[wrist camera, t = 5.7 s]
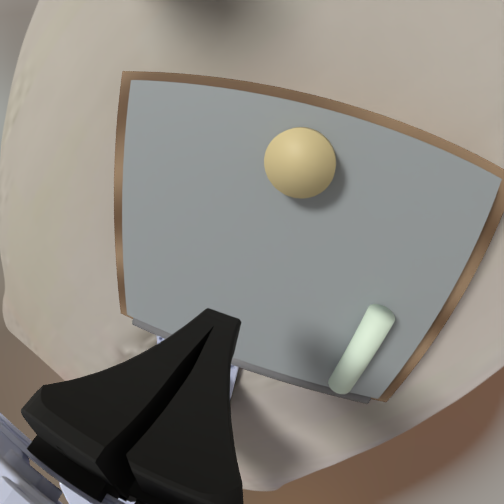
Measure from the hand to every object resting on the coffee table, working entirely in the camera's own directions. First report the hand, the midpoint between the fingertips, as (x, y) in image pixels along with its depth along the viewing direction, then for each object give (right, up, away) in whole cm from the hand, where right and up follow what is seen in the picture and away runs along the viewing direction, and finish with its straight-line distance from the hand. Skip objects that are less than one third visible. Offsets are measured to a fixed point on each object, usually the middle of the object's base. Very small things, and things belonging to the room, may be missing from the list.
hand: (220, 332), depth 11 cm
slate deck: (+3, +2, +6) cm, 7 cm away
